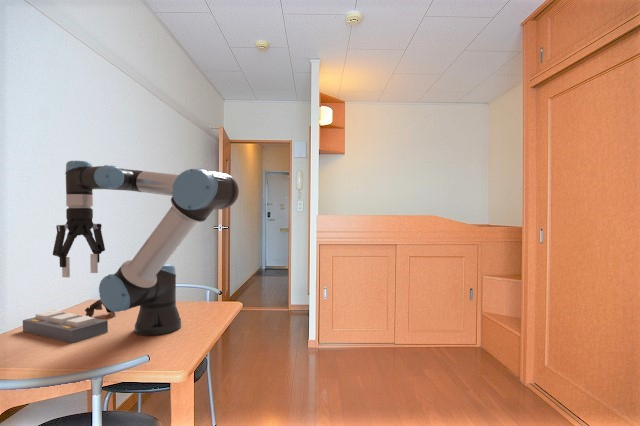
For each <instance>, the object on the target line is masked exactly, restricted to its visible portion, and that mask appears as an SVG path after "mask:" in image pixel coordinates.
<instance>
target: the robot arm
mask: <svg viewBox="0 0 640 426" xmlns="http://www.w3.org/2000/svg"><path fill="white" fill-rule="evenodd" d="M65 190H66V191H65V197H66V200H65V202H66V203H65V204H66V205H65V206H66V207H68V208H66V210H65V211H66V212H65V214H66V215H65V216H66V223H65V224H57V225H56V227H55V228H56V235H55V241H54V246H53V251H52V255H53V256H54V257H58V258H59V267H60V268H61V271H62V274H61V278H70V277H71V273H70V272H71V271H70V269H71V268H70V265H71V264H70V260H71V259H70V256H68V254H69V252H70V250H71V248H72V246H73V243H74V241H75V239H76V238H77V237H78V236H83V237H84V238H85V240H86V242H87V244H88V246H89V248H90V250H91V252H92V253H90V257H89V259H90V260H89V261H90V264H89V265H90V273H91V274H98V273H99V271H98V268H99V267H98V265H99V263H100V255H101V254H102V253H103V252H105V251H106V248H105V242H104V237H103V233H102V223H94V222H93V218H94V210H93V208H92V207H93V205H94V201H93V200H94V199H93V198H94V197H93V190H111V191H129V192H138V193H146V194H147V193H148V194H154V195H162V196H168V197H171V199H170V201H171V207H170V208H169V209H168V211H167V212H166V214H165V215H164V217H163V218H162V219H161V221H160V222H159V223H158V225H157V226H156V227H155V229H154V230H153V231H152V232H151V234H150V235H149V236H148V238H147V239H146V240H145V242H144V243H143V244H142V246H141V247H140V248H139V250H138V251H137V252H136V254H135V255H134V257H133V258H132V259H131V260H129V259H128V260H126V261H124V262H123V263H122V264H121V266H119V269H118V270H117V271H116V272H115V273H111V274H108V275H106V276H104V277H103V278H102V279H101V280H100V282H99V286H98V293H99V300H100V299H101V301H102V303H103V304H104V306H105V307H106V308H107V309H109V310H110V311H113V312H115V313H119V312H125V311H127V310H128V311H129V310H131V309H134V308H137V307H139V311H138V314H137V317H136V322H135V323H134V333H135V334H136V335H141V336H158V335H159V336H160V335H165V334H169V333H172V332H176V331H178V330H179V329H181V328H182V319H181V317H180V313H179V311H178V307H177V298H176V297H177V296H176V295H177V291H176V289H177V288H176V287H177V286H176V285H177V284H176V283H177V281H176V278H177V274H176V267H175V265H174V264H169V263H167V261H169V260H170V258H171V257H172V255H173V254H174V253H175V252H176V250H177V249H178V247H179V246H180V245H181V244H182V242H183V241H184V240H185V239H186V237H187V236H188V234H190V232H191V231H192V229H193V228H194V227H195V226H196V224H197V223H204V222H205V221H206V220H207V218H208V217H209V216H210V215H211V214H212V212H213V211H214V210H224V209H227V208H230V207H232V206H233V205H234V204H235V203H236V202H237V200H238V198H239V192H240V191H239V185H238V183H237V181H236V180H235V178H233V176H231V175H230V174H227V173H224V172H219V171H212V170H208V169H206V168H205V169H204V168H190V169H187V170H184V171H182V172H180V174H176V173H175V174H174V173H164V172H163V173H162V172H155V171H145V170H138V169H137V170H135V169H130V168H129V169H126V168H121V167H118V166H117V165H116V166H115V165H108V164H107V165H95V166H93V164H92V162H91V161H86V160H69V161H67V162H66V164H65ZM92 230H93V231H92ZM66 231H68V233H67V234H66ZM93 235H94V236H93ZM65 236H66V237H65ZM103 304H102V305H103ZM104 306H103V307H104ZM105 307H104V308H105ZM106 308H105V309H106Z"/></svg>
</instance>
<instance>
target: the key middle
mask: <svg viewBox="0 0 640 426" xmlns="http://www.w3.org/2000/svg"><path fill="white" fill-rule="evenodd" d="M65 313H66V314H62V315H58V316H54V317H50V318H51V322H53V323H57V324H63V323H66V320H70V319H74V318H78V317H79V316H80V315H79V314H76V313H70V312H65Z"/></svg>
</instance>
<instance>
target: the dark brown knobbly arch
mask: <svg viewBox="0 0 640 426" xmlns="http://www.w3.org/2000/svg"><path fill="white" fill-rule="evenodd" d="M102 306H103V307H104V308H105V311H106V313H107V315H108V317H109V319H113V318H115V317H114V316H116V312H113V311H110V310H109V309H107V308H106V307H105V306H104V304H103V303H102V301H101V299H100V298H99V299H98V300H96V301H94V302H93V303H91V304H90V305H89V306H88V307H86V308H85V309H84V311H85V316H88V317H93V316H94V314H95V310H97V311H102V310H103V307H102Z"/></svg>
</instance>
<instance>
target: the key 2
mask: <svg viewBox="0 0 640 426" xmlns="http://www.w3.org/2000/svg"><path fill="white" fill-rule="evenodd" d="M81 316H82V317H78V318H74V319H70V320H66V325H67V326H72V327H81V326H85V325H88V324H92V323H95V318H96V317H93V316H92V317H89V316H86V315H81Z"/></svg>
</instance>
